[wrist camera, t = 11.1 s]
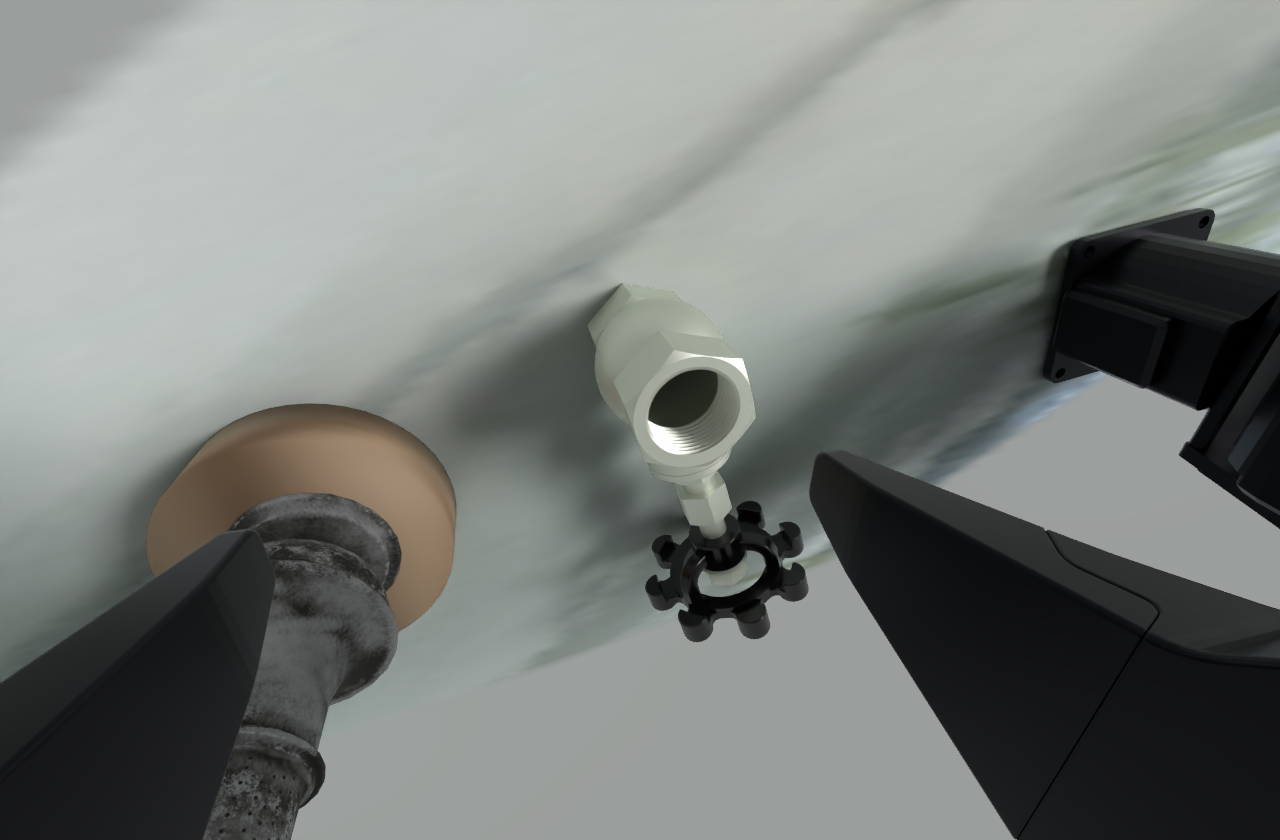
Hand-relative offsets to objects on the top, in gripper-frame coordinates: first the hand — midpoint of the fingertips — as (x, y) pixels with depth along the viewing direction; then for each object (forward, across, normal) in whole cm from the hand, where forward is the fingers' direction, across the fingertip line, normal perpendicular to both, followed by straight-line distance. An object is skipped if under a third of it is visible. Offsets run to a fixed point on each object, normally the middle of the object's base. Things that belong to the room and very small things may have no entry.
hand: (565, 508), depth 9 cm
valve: (+12, -5, +5) cm, 14 cm away
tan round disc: (+12, +8, +7) cm, 16 cm away
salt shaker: (+9, +8, +7) cm, 14 cm away
